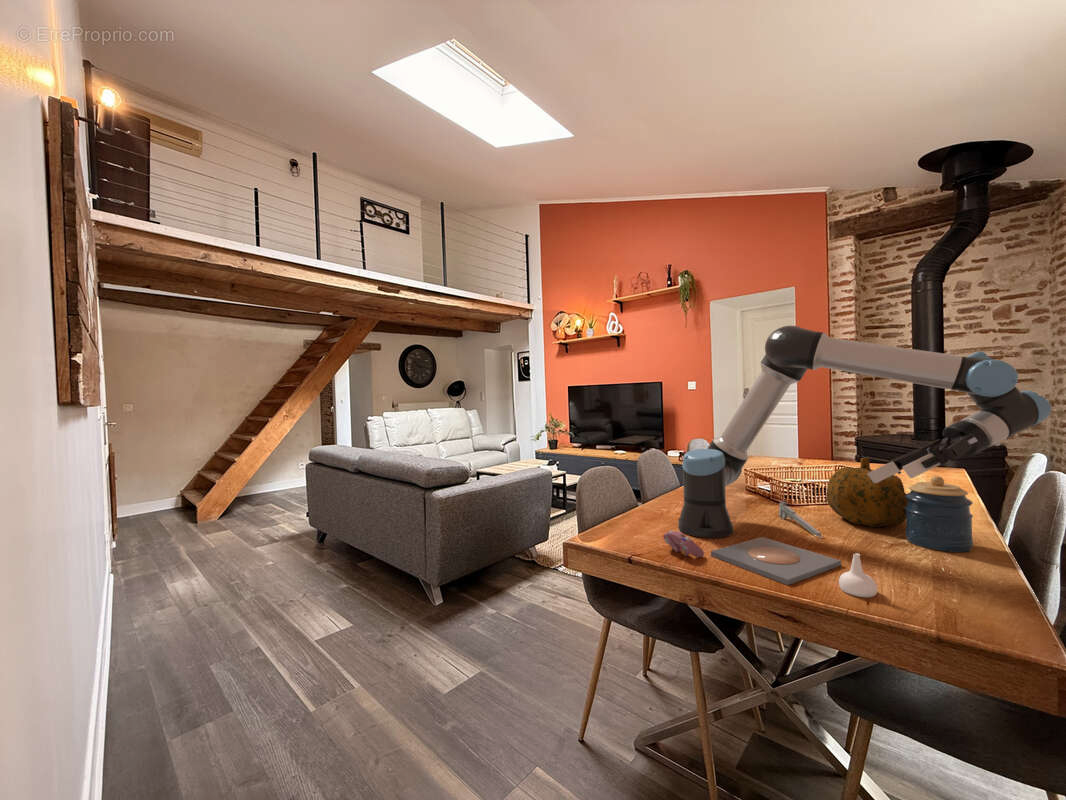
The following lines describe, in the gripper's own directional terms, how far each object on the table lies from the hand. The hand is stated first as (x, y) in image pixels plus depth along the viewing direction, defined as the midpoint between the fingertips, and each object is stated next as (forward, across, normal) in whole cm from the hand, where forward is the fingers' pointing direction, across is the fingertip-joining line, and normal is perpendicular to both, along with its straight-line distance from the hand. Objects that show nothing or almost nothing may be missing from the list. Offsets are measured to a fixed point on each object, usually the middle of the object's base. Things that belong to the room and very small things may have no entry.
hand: (887, 475), depth 102 cm
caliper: (+12, +34, -8) cm, 37 cm away
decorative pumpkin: (-8, +40, -16) cm, 44 cm away
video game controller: (+48, +11, +3) cm, 50 cm away
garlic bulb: (+23, -7, -16) cm, 29 cm away
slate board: (+30, +8, -7) cm, 32 cm away
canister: (-12, +22, -23) cm, 34 cm away
